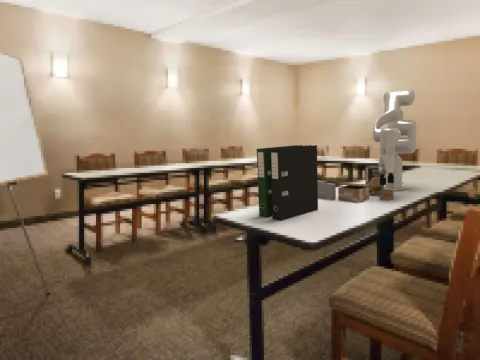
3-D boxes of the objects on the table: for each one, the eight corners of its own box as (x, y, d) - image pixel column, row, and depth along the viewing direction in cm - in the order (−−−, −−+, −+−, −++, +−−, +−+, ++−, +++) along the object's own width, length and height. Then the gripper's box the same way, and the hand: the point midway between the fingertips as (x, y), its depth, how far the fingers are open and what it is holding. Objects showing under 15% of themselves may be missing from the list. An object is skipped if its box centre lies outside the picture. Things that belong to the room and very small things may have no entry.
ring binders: (297, 206, 186) (296, 145, 182) (320, 210, 175) (319, 145, 170) (259, 216, 169) (256, 148, 165) (281, 221, 158) (279, 149, 153)
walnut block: (384, 198, 196) (384, 189, 195) (393, 199, 192) (393, 190, 192) (380, 199, 193) (380, 190, 192) (389, 200, 189) (389, 191, 188)
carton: (349, 196, 204) (349, 184, 203) (369, 198, 195) (369, 186, 194) (338, 200, 196) (338, 187, 195) (358, 202, 187) (358, 189, 186)
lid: (348, 184, 203) (349, 182, 203) (369, 185, 194) (369, 184, 194) (338, 183, 195) (338, 182, 195) (359, 185, 186) (359, 183, 186)
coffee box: (367, 195, 204) (367, 168, 202) (364, 193, 210) (365, 166, 208) (384, 195, 203) (384, 167, 201) (381, 193, 209) (381, 166, 207)
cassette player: (335, 199, 198) (335, 182, 196) (332, 200, 196) (332, 182, 195) (315, 196, 211) (315, 179, 209) (312, 196, 209) (311, 180, 208)
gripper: (387, 151, 197) (386, 181, 199) (373, 152, 185) (372, 185, 187) (401, 151, 192) (400, 182, 194) (387, 152, 180) (386, 186, 182)
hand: (386, 184), depth 191 cm, fingers open, 9 cm apart
